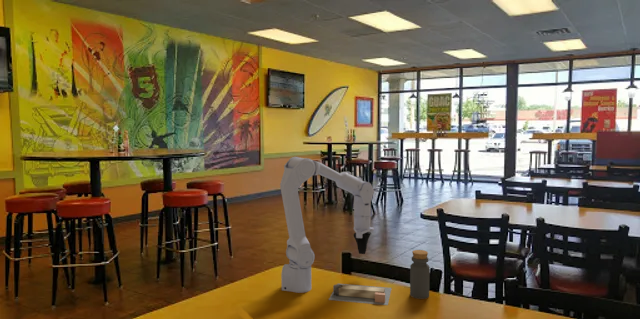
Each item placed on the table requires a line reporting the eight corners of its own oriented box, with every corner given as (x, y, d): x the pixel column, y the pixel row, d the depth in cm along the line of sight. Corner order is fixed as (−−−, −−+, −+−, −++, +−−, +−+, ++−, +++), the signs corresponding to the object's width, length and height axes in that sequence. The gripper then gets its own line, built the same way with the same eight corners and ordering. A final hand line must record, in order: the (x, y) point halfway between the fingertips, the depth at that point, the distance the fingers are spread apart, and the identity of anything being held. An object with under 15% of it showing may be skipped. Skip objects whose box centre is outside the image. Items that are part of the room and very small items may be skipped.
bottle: (429, 303, 133) (430, 255, 132) (410, 301, 134) (410, 254, 133) (428, 295, 139) (429, 249, 138) (410, 294, 140) (410, 248, 139)
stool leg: (332, 294, 136) (332, 287, 136) (334, 291, 139) (334, 283, 139) (383, 299, 133) (383, 291, 132) (384, 295, 136) (384, 288, 135)
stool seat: (328, 303, 133) (328, 299, 133) (337, 286, 147) (337, 283, 147) (387, 309, 129) (387, 305, 129) (391, 291, 143) (391, 287, 142)
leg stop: (374, 301, 131) (374, 294, 131) (375, 299, 133) (375, 292, 133) (384, 302, 131) (384, 295, 130) (385, 300, 132) (385, 293, 132)
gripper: (371, 220, 144) (371, 260, 145) (376, 211, 158) (376, 248, 159) (350, 219, 146) (350, 258, 147) (356, 210, 160) (356, 247, 161)
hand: (362, 253), depth 153 cm, fingers closed
